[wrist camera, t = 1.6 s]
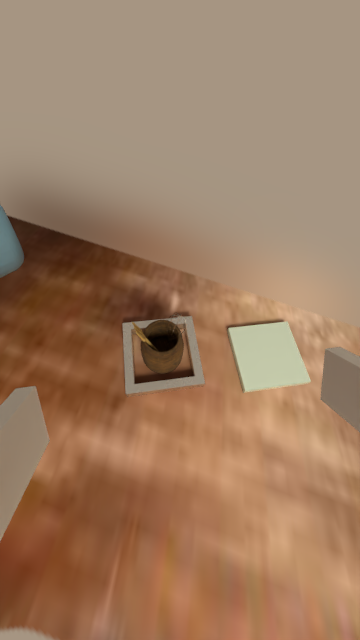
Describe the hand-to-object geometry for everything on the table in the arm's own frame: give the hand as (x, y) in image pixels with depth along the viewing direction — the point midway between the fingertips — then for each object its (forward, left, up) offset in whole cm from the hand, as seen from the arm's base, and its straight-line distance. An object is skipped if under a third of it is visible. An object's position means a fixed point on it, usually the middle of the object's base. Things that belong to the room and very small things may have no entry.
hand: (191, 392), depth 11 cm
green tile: (+16, +9, -25) cm, 31 cm away
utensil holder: (0, +11, -25) cm, 27 cm away
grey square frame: (0, +11, -25) cm, 27 cm away
